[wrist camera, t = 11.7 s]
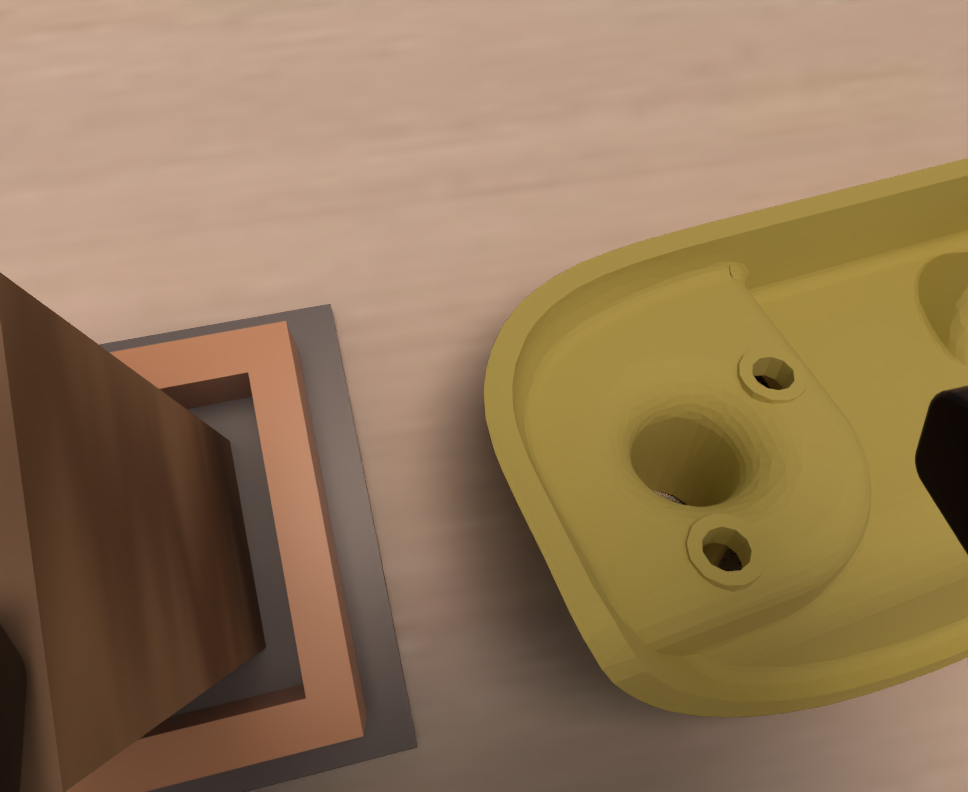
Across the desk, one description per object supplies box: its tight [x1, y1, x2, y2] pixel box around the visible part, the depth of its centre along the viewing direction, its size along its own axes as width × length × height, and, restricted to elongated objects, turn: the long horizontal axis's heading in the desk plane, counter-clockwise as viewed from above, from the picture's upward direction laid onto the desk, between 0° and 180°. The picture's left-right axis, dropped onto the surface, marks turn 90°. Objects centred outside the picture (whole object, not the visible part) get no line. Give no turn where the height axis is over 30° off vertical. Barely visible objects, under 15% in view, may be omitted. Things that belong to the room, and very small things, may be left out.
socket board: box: [65, 304, 417, 792], centre depth 19 cm, size 11×11×3 cm
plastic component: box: [484, 158, 968, 717], centre depth 21 cm, size 20×7×10 cm
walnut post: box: [0, 273, 266, 792], centre depth 14 cm, size 5×5×12 cm
